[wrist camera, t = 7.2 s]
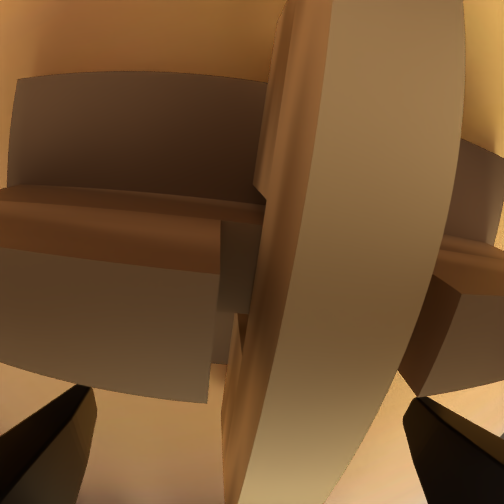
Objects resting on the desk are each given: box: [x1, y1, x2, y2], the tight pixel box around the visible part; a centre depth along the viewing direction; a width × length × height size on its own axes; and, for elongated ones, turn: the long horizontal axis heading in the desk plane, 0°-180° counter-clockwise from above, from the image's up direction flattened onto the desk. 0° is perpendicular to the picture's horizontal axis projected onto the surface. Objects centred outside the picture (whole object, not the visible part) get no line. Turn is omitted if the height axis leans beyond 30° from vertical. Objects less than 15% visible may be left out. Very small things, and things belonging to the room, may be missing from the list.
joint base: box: [0, 71, 504, 404], centre depth 7 cm, size 8×16×6 cm, turn 82°
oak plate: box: [221, 0, 465, 504], centre depth 6 cm, size 12×2×5 cm, turn 172°
